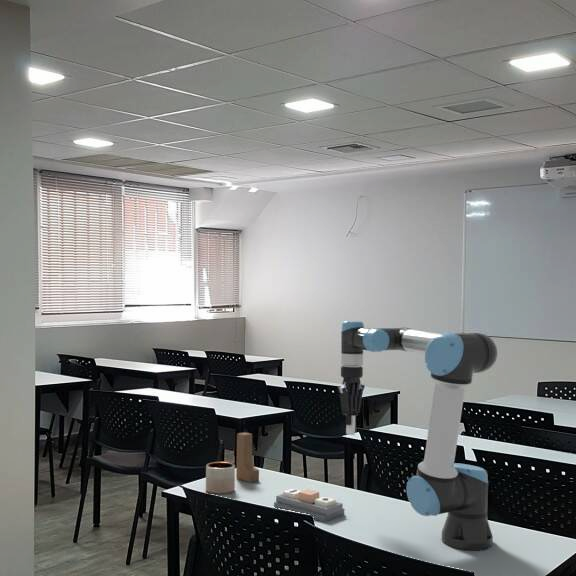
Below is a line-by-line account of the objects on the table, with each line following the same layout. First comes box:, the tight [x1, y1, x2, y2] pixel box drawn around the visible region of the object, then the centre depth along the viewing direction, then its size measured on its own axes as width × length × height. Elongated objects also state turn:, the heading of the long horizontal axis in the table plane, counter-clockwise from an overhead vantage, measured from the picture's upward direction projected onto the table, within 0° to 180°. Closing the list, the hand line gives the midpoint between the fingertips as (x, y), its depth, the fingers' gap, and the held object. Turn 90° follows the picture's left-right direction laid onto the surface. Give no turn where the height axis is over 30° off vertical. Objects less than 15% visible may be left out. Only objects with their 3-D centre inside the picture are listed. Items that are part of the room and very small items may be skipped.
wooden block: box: [235, 431, 260, 483], centre depth 286 cm, size 9×4×18 cm, turn 44°
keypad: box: [273, 493, 345, 523], centre depth 246 cm, size 22×11×4 cm, turn 50°
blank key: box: [299, 489, 320, 504], centre depth 246 cm, size 5×5×3 cm
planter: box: [205, 461, 236, 495], centre depth 270 cm, size 11×11×10 cm
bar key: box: [282, 488, 302, 500], centre depth 251 cm, size 5×5×3 cm
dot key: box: [315, 496, 337, 508], centre depth 242 cm, size 5×5×3 cm
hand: (350, 434), depth 248 cm, fingers closed
